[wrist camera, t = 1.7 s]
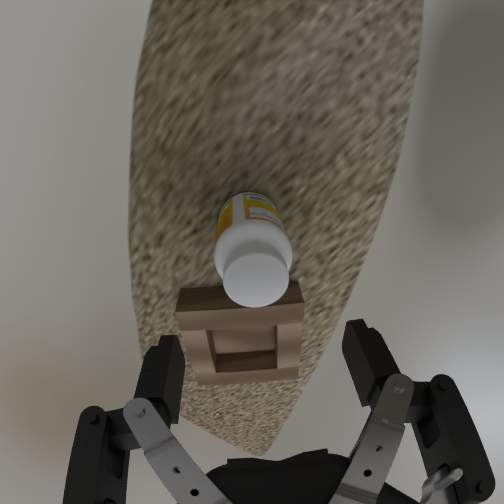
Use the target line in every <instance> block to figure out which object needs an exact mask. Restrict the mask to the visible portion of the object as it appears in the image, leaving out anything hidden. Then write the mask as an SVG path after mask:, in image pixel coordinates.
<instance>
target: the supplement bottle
mask: <svg viewBox="0 0 504 504" xmlns="http://www.w3.org/2000/svg"><path fill="white" fill-rule="evenodd" d="M214 261H215V266H216V269H217V271H218V273H219V275H220V276H221V277H222V279H223V286H224V289H225V292H226V293H227V295H228V296H229V297H230V298H231V299H232V300H233V301H234V302H236V303H238V304H240V305H242V306H246V307H263V306H267V305H269V304H272V303H274V302H275V301H277V300H278V299H279V298H280V297H281V296H282V295H283V294H284V293H285V291H286V289H287V287H288V284H289V273H288V271H289V270H290V267H291V264H292V248H291V244H290V241H289V238H288V236H287V233H286V231H285V228H284V226H283V223H282V220H281V218H280V215H279V213H278V210H277V208H276V207H275V205H274V204H273V203H272V201H271V200H269V199H268V198H267V197H265V196H263V195H261V194H258V193H254V192H245V193H240V194H238V195H235V196H233V197H232V198H230V199H229V200H228V201H227V202H226V203H225V204H224V206H223V207H222V209H221V211H220V214H219V218H218V226H217V234H216V242H215V250H214Z"/></svg>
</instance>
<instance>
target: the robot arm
mask: <svg viewBox="0 0 504 504" xmlns="http://www.w3.org/2000/svg"><path fill="white" fill-rule="evenodd" d="M342 351H343V355H344V358H345V360H346V363H347V366H348V368H349V371H350V374H351V377H352V380H353V382H354V385H355V388H356V391H357V393H358V396H359V399H360V402H361V405H362V407H364V406H368V405H370V408H371V412H370V414H369V416H368V419H367V421H366V423H365V426H364V428H363V430H362V432H361V434H360V436H359V438H358V440H357V442H356V444H355V446H354V448H353V450H352V451H351V453H350V455H349V457H348V458H347V457H344V456H341V455H337V454H329V453H328V450H327V448H326V449H320V450H315V451H309V452H303V453H301V454H298V455H295V456H292V457H289V458H287V459H284V460H281V461H272V460H264V459H257V458H241V459H240V458H238V459H227V464H226V465H222V466H219V467H217V468H215V469H213V470H211V471H210V472H208V473H207V474H204V472H203V471H202V470H201V469H200V468H199V467H198V465H197V464H196V463H195V462H194V461H193V460H192V458H191V457H190V456H189V454H188V453H187V452H186V451H185V449H184V448H183V447H182V445H181V444H180V443H179V442H178V440H177V439H176V438H175V437H174V435H173V434H172V433H171V431H170V426H171V424H178V419H179V410H180V402H181V394H182V386H183V379H184V371H185V358H184V354H183V351H182V348H181V345H180V342H179V339H178V336H177V335H161V337H160V340H159V344H158V346H151V347H150V349H149V350H148V351H147V352H146V354H145V357H144V361H143V364H142V368H141V372H140V375H139V379H138V383H137V387H136V391H135V395H134V398H133V399H132V400H130V401H129V402H127V403H126V405H125V406H124V408H121V409H117V410H112V411H107V412H105V411H104V410H103V409H102V408H100V407H98V406H90V407H88V408H86V409H84V411H83V412H82V413H81V415H80V418H79V422H78V426H77V430H76V434H75V438H74V442H73V447H72V452H71V456H70V461H69V467H68V473H67V477H66V483H65V490H64V497H63V504H126V490H127V477H128V466H129V457H130V450H132V449H138V448H142V449H143V451H144V455H145V457H146V459H147V460H148V462H149V463H150V465H151V467H152V468H153V470H154V471H155V472H156V474H157V475H158V477H159V478H160V480H161V481H162V482H163V484H164V485H165V487H166V488H167V489H168V491H169V492H170V493H171V495H172V496H173V497H174V499H175V500H176V501H177V504H479V503H481V502H483V501H485V500H487V499H488V498H489V497H490V496H491V495H492V493H493V491H494V489H495V478H494V475H493V472H492V469H491V466H490V463H489V460H488V458H487V455H486V452H485V450H484V447H483V444H482V442H481V439H480V437H479V434H478V432H477V430H476V427H475V425H474V423H473V421H472V418H471V416H470V414H469V412H468V409H467V407H466V405H465V403H464V400H463V398H462V397H461V394H460V392H459V390H458V388H457V386H456V384H455V382H454V381H453V379H452V378H451V377H449V376H447V375H444V374H439V375H436V376H434V377H433V378H432V380H431V381H430V382H415V381H412V380H411V379H410V378H409V377H408V376H406V375H404V374H401V372H400V371H399V368H398V367H397V364H396V362H395V360H394V358H393V356H392V355H391V353H390V351H389V350H388V347H387V345H386V343H385V341H384V339H383V338H382V336H381V334H380V333H379V332H378V331H377V330H375V329H374V328H368V327H367V325H366V323H365V322H364V320H363V319H357V320H350V321H347V323H346V327H345V332H344V337H343V341H342ZM404 423H411V425H412V428H413V430H414V433H415V437H416V440H417V443H418V446H419V449H420V452H421V456H422V459H423V462H424V466H425V469H426V473H427V476H428V478H427V479H426V481H425V482H424V484H423V486H422V499H421V501H420V503H418V502H417V501H416V500H414V499H412V498H411V497H409V496H407V495H405V494H404V493H402V492H400V491H399V490H397V489H396V488H394V487H392V486H391V485H389V484H387V483H386V482H385V479H386V477H387V475H388V472H389V470H390V468H391V465H392V463H393V460H394V458H395V455H396V453H397V450H398V448H399V445H400V442H401V439H402V436H403V434H404V430H405V426H404Z"/></svg>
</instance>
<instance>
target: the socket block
mask: <svg viewBox="0 0 504 504" xmlns="http://www.w3.org/2000/svg"><path fill="white" fill-rule="evenodd" d="M175 315H176V318H177V321H178V325H179V328H180V331H181V335H182V338H183V341H184V344H185V347H186V351H187V354H188V357H189V360H190V363H191V366H192V369H193V372H194V374H195V377H196V380H197V383H198V385H225V384H243V383H257V382H269V381H279V380H288V379H296V378H298V373H299V363H300V352H301V341H302V329H303V316H304V300H303V297H302V294H301V290H300V287H299V284H298V281H289V284H288V287H287V289H286V291H285V293H284V294H283V295H282V296H281V297H280V298H279V299H278V300H277V301H275V302H274V303H272V304H269V305H267V306H263V307H246V306H242V305H240V304H238V303H236V302H234V301H233V300H232V299H231V298H230V297H229V296H228V295H227V293H226V292H225V289H224V287H211V288H195V289H180V293H179V297H178V301H177V305H176V309H175Z"/></svg>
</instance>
